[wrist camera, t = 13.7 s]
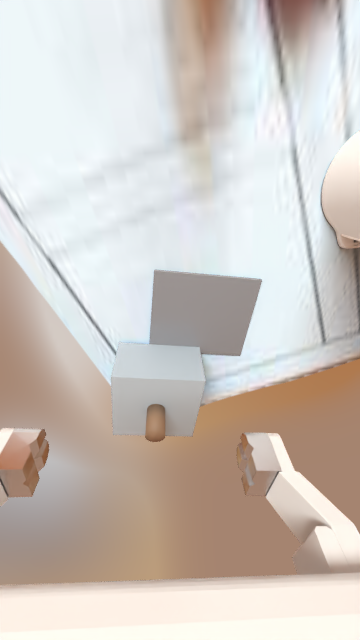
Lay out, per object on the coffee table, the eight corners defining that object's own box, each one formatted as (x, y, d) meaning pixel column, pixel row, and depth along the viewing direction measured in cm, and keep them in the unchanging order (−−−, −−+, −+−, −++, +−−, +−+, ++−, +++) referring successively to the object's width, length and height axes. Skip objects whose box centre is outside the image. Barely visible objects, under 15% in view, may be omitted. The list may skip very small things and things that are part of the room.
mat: (260, 278, 44) (261, 280, 43) (239, 353, 52) (240, 355, 51) (154, 269, 42) (154, 270, 41) (149, 348, 50) (149, 350, 50)
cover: (199, 347, 50) (210, 406, 38) (188, 400, 58) (195, 462, 46) (119, 342, 48) (104, 402, 37) (119, 397, 56) (108, 461, 45)
